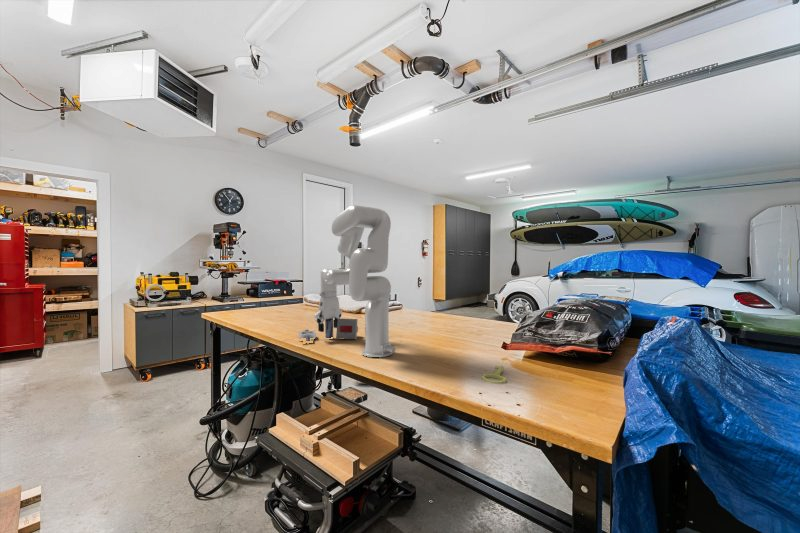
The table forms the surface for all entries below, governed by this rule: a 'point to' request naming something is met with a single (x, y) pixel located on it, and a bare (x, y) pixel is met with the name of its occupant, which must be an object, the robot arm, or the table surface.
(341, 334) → the voltmeter
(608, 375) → the table surface
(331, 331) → the pin
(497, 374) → the key
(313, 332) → the chain ends
